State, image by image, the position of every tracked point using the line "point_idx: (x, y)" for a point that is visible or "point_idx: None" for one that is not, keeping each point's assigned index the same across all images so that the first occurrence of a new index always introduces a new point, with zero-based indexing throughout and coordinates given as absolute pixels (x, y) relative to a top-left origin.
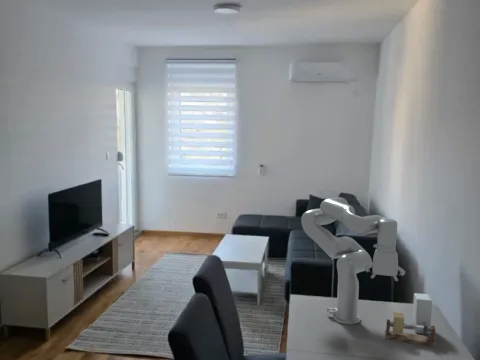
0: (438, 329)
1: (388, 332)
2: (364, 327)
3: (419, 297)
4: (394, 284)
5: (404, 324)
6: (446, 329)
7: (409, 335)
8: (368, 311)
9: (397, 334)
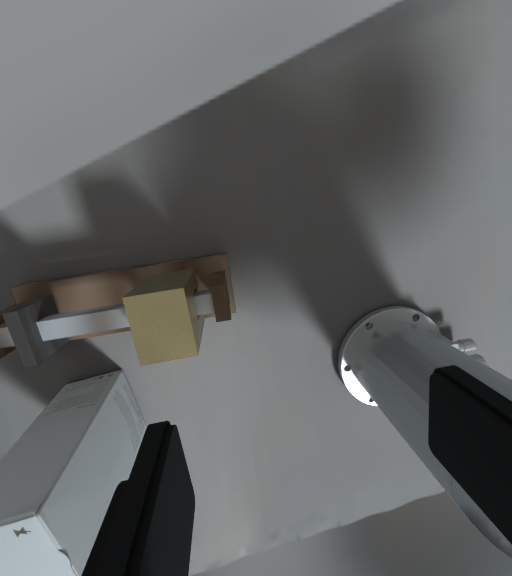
0: None
1: (215, 274)
2: (315, 319)
3: (30, 551)
4: (135, 504)
5: None
6: None
7: None
8: (315, 452)
9: None
